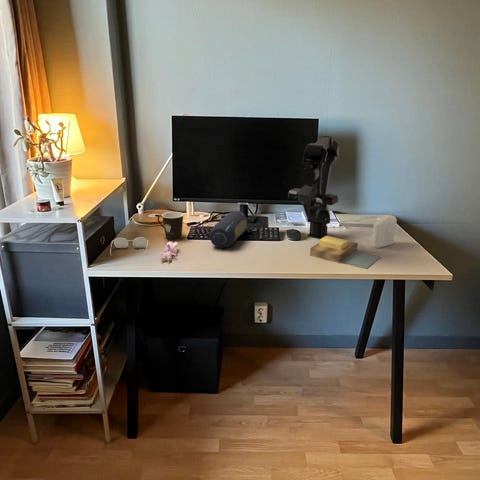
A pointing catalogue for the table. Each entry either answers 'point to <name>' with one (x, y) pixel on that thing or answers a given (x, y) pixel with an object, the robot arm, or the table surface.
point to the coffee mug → (172, 225)
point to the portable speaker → (228, 229)
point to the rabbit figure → (169, 251)
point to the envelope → (357, 220)
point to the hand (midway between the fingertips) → (311, 217)
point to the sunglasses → (137, 242)
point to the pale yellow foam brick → (333, 242)
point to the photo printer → (384, 231)
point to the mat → (361, 259)
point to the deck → (333, 252)
